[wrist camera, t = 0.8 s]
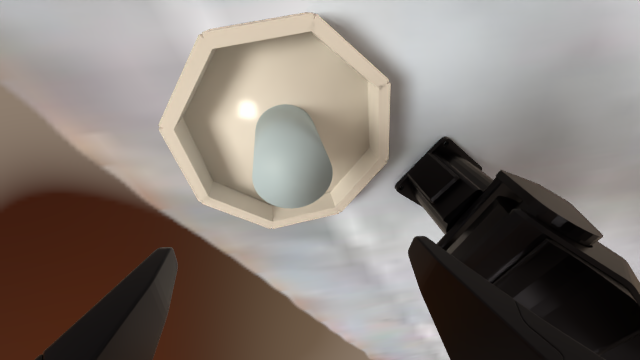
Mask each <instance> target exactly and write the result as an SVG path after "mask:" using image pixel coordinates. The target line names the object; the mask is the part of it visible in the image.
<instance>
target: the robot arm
mask: <svg viewBox="0 0 640 360" xmlns="http://www.w3.org/2000/svg"><path fill="white" fill-rule="evenodd" d="M445 142H446V143H445ZM444 143H445V144H444ZM481 170H482V168H481V166H479V165H478V164H477V163H476V162H475V161H474V160H473V159H472V158H471V157H469V156H468V155H467V154H466V153H465V152H464V151H463V150H462V149H461V148H459V147H458V146H457V145H456V144H455V143H454V142H453V141H452V140H450V139H449V138H448V137H443V138H441V139H440V140H439V141H438V142H437V143H436V144H435V145H434V146H433V147H432V148H431V149H430V150H429V151H428V152H427V153H426V154H425V155H424V156H423V157H422V158H421V159H420V160H419V161H418V162H417V163H416V164H415V165H414V166H413V167H412V168H411V170H410V171H409V172H408V173H407V174H406V175H405V176H404V177H403V178H402V179H401V180H400V181H399V182H398V183H397V184H396V185H395V189H396V190H397V191H398V192H399V193H400V194H402V195H404V196H405V197H407V198H409V199H410V200H412V201H414V202H415V203H417V204H419V205H420V206H422V207H423V208H424V209H425V210H426V211H427V213H428V214H429V215H430V216H431V218H432V219H433V220H434V221H435V223H436V224H437V225H438V226H439V228H440V229H441V230H442V232H443V233H444V234H445V235H444V236H443V237H442V239H441V240H440V241H439V242H438V243H437V244H435V243H434V242H433V241H431V240H430V239H428V238H427V237H425V236H416V237H415V238H414V239H413V241H412V243H411V245H410V247H409V250H408V255H409V259H410V262H411V265H412V268H413V271H414V274H415V277H416V280H417V283H418V286H419V289H420V291H421V294H422V296H423V299H424V301H425V303H426V305H427V308H428V310H429V312H430V314H431V317H432V319H433V321H434V323H435V326H436V328H437V330H438V333H439V335H440V337H441V339H442V342H443V344H444V346H445V348H446V351H447V353H448V355H449V357H450V360H640V282H639V281H638V279H637V277H636V276H635V274H634V272H633V271H632V269H631V267H630V266H629V264H628V263H627V261H626V260H625V259H623V258H622V257H621V256H619V255H618V254H616V253H615V252H613V251H612V250H610V249H608V248H607V247H605V246H604V245H602V244H601V243H599V242H598V240H599V239H601V238H602V237H603V235H602V234H601V233H600V232H599V231H598V230H597V229H596V228H595V227H594V226H593V225H592V224H591V223H590V222H589V221H588V220H587V219H586V218H585V217H584V216H583V215H582V214H581V213H580V212H579V211H578V210H577V209H576V208H575V207H574V206H573V205H572V204H571V203H569V202H568V201H566V200H565V199H563V198H561V197H560V196H558V195H556V194H555V193H553V192H551V191H549V190H548V189H546V188H544V187H543V186H541V185H539V184H537V183H534V182H532V181H529V180H526V179H524V178H521V177H519V176H516V175H513V174H511V173H508V172H506V171H503V170H500V172H499V173H498V174H497V175H496V178H495V179H494V180H493V179H491V178H490V177H489V176H487V175H486V174H485V173H483V172H482V171H481ZM401 186H402V187H401ZM400 187H401V188H400ZM177 266H178V265H177V260H176V257H175V254H174V250H173V248H171V247H165V248H158V249H157V250H155V251H154V252H153V253H152V254H151V255H150V256H149V257H148V258H146V259H145V260H144V261H143V262H142V263H141V264H140V265H139V266H138V267H137V268H135V269H134V270H133V271H132V272H131V273H130V274H129V275H128V276H127V277H125V278H124V279H123V280H122V281H121V282H120V283H119V284H118V285H117V286H116V287H114V288H113V289H112V290H111V291H110V292H109V293H108V294H107V295H106V296H105V297H103V298H102V299H101V300H100V301H99V302H98V303H97V304H96V305H95V306H94V307H92V308H91V309H90V310H89V311H88V312H87V313H86V314H85V315H84V316H82V317H81V318H80V319H79V320H78V321H77V322H76V323H75V324H74V325H72V326H71V327H70V328H69V329H68V330H67V331H66V332H65V333H64V334H63V335H61V336H60V337H59V338H58V339H57V340H56V341H55V342H54V343H53V344H52V345H51V346H49V347H48V348H47V349H46V350H45V351H44V352H43V355H39V356H38V357H37V358H36V359H35V360H153V356H154V354H155V351H156V348H157V345H158V342H159V339H160V336H161V333H162V330H163V327H164V324H165V321H166V318H167V314H168V310H169V306H170V301H171V296H172V291H173V287H174V282H175V278H176V273H177Z"/></svg>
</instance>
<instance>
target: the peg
mask: <svg viewBox="0 0 640 360" xmlns="http://www.w3.org/2000/svg"><path fill="white" fill-rule="evenodd" d="M332 176H333V169H332V165H331V162H330V159H329V157H328V155H327V153H326V150H325V148H324V146H323V143H322V141H321V139H320V136H319V134H318V132H317V129H316V127H315V125H314V122H313V120H312V119H311V117H310V116H309V114H308V113H307V112H305V111H304V110H303V109H301V108H299V107H297V106H294V105H288V104H283V105H277V106H274V107H272V108H270V109H268V110H267V111H265V112H264V113H263V114H262V115H261V117H260V118H259V120H258V122H257V125H256V129H255V143H254V158H253V172H252V180H253V185H254V188H255V190H256V192H257V193H258V194H259V196H260V197H261V198H262V199H264V200H265V201H266V202H268V203H270V204H272V205H274V206H277V207H281V208H299V207H304V206H307V205H309V204H311V203H313V202H315V201H317V200H318V199H319V198H320V197H322V196H323V195H324V194H325V192H326V191H327V190H328V188H329V186H330V184H331V181H332Z"/></svg>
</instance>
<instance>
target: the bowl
mask: <svg viewBox="0 0 640 360" xmlns="http://www.w3.org/2000/svg"><path fill="white" fill-rule="evenodd" d="M388 81H389V79H388V78H387V77H386V76H384V75H383V74H382V73H381V72H380V71H379V70H378V69H377V68H376V67H375V66H374V65H372V64H371V63H370V62H369V61H368V60H367V59H366V58H365V57H364V56H363V55H361V54H360V53H359V52H358V51H357V50H356V49H355V48H354V47H353V46H352V45H350V44H349V43H348V42H347V41H346V40H345V39H344V38H343V37H342V36H341V35H340V34H338V33H337V32H336V31H335V30H334V29H333V28H332V27H331V26H330V25H329V24H327V23H326V22H325V21H324V20H323V19H322V18H321V17H320V16H319V15H318V14H313V13H309V12H305V13H300V14H294V15H288V16H282V17H276V18H271V19H265V20H259V21H253V22H248V23H242V24H236V25H230V26H225V27H219V28H213V29H209V30H207V31H204V32H202V34H200V35H198V38H197V40H196V42H195V44H194V46H193V49H192V51H191V53H190V55H189V58H188V60H187V62H186V64H185V67H184V69H183V71H182V73H181V76H180V78H179V80H178V82H177V85H176V87H175V89H174V91H173V94H172V96H171V98H170V100H169V102H168V105H167V107H166V109H165V111H164V114H163V116H162V118H161V120H160V123H159V125H158V126H160V128H159V131H160V133H161V135H162V136H163V138H164V140H165V142H166V144H167V145H168V147H169V149H170V151H171V153H172V154H173V156H174V158H175V160H176V161H177V163H178V165H179V167H180V169H181V170H182V172H183V174H184V176H185V178H186V179H187V181H188V183H189V185H190V187H191V188H192V190H193V192H194V194H195V195H196V197H197V199H198V201H199V202H200V201H202V203H201V204H204V205H207V206H209V207H212V208H215V209H218V210H220V211H223V212H226V213H228V214H231V215H234V216H237V217H239V218H242V219H245V220H247V221H250V222H253V223H256V224H258V225H261V226H264V227H266V228H269V229H270V228H271V227H272V228H273V229H275V228H279V227H283V226H288V225H292V224H296V223H300V222H305V221H309V220H313V219H318V218H322V217H326V216H330V215H335V214H339V212H342V211H343V210H344V209H345V207H346V206H347V205H348V204H349V203H350V202H351V201H352V200H353V199H354V198H355V197H356V196H357V195H358V193H359V192H360V191H361V190H362V189H363V188H364V187H365V186H366V185H367V184H368V183H369V182H370V181H371V179H372V178H373V177H374V176H375V175H376V174H377V173H378V172H379V171H380V170H381V169H382V168H383V166H384V165H385V164H386V163H387V161H386V160H388V158H389V122H390V87H391V83H390V82H388ZM283 104H288V105H294V106H297V107H299V108H301V109H303V110H304V111H305V112H307V113H308V114H309V116H310V117H311V119H312V120H313V122H314V125H315V127H316V129H317V132H318V134H319V136H320V139H321V141H322V143H323V146H324V148H325V150H326V153H327V155H328V157H329V159H330V162H331V165H332V169H333V176H332V181H331V184H330V186H329V188H328V190H327V191H326V192H325V194H324V195H323V196H322V197H320V198H319V199H318V200H317V201H315V202H313V203H311V204H309V205H307V206H304V207H299V208H281V207H277V206H274V205H272V204H270V203H268V202H266V201H265V200H264V199H262V198H261V197H260V196H259V194H258V193H257V192H256V190H255V188H254V185H253V180H252V172H253V158H254V143H255V129H256V125H257V122H258V120H259V118H260V117H261V115H262V114H263V113H264V112H265V111H267V110H268V109H270V108H272V107H274V106H277V105H283Z"/></svg>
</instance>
